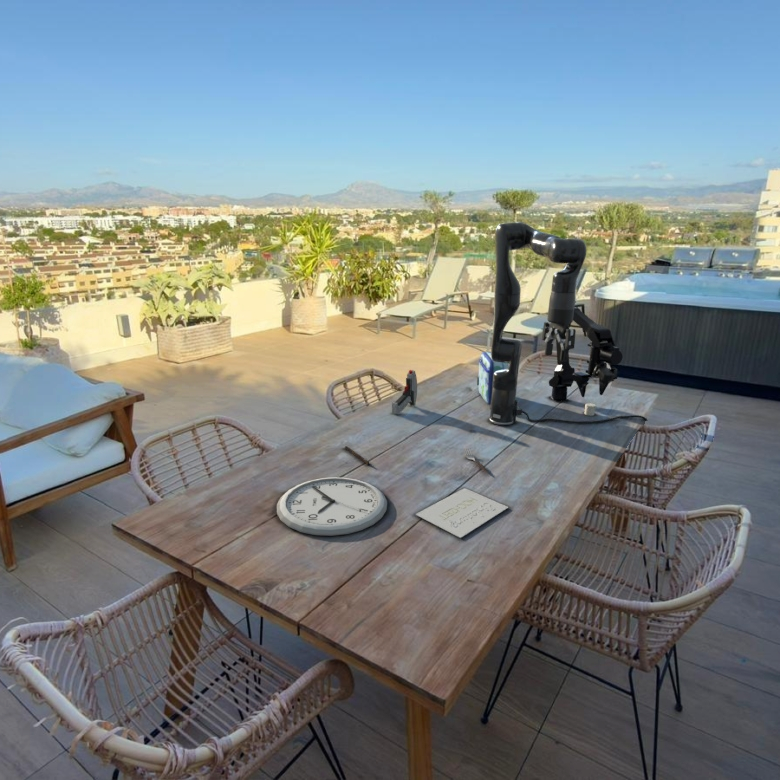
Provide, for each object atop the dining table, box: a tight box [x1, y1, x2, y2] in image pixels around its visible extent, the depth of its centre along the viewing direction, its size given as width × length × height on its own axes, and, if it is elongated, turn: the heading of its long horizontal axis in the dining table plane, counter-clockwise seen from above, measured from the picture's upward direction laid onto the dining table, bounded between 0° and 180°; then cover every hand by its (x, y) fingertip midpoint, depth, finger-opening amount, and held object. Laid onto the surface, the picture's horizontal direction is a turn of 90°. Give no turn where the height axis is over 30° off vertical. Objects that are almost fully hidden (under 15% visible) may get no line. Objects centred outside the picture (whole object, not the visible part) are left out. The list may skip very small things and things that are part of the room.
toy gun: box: [391, 369, 418, 415], centre depth 216 cm, size 2×16×15 cm
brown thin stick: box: [344, 445, 370, 465], centre depth 173 cm, size 15×1×1 cm, turn 34°
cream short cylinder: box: [583, 402, 597, 417], centre depth 217 cm, size 4×4×4 cm
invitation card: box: [414, 487, 509, 539], centre depth 141 cm, size 21×1×15 cm
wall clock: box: [276, 476, 388, 537], centre depth 142 cm, size 30×2×30 cm
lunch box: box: [476, 351, 509, 406], centre depth 230 cm, size 26×11×21 cm, turn 179°
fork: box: [463, 448, 488, 474], centre depth 169 cm, size 3×16×2 cm, turn 15°
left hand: (555, 358), depth 165 cm, fingers open, 8 cm apart
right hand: (591, 396), depth 215 cm, fingers open, 9 cm apart
